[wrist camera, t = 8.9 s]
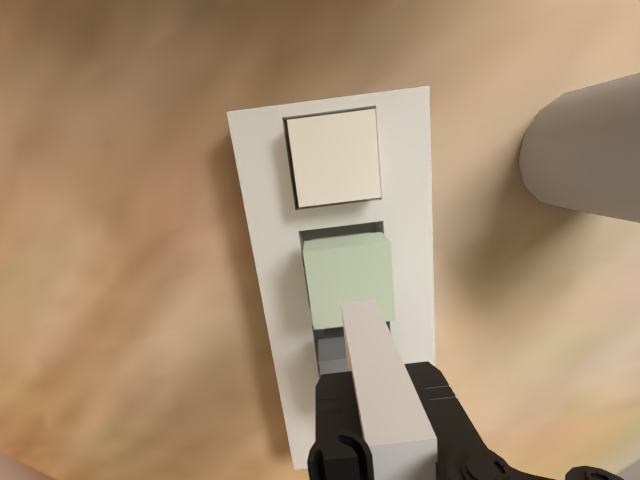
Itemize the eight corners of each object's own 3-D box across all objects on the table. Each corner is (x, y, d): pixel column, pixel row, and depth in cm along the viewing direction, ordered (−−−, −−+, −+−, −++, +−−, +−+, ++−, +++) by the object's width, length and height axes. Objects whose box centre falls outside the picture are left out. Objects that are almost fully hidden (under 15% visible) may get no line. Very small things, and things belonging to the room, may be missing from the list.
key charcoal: (317, 325, 22) (318, 361, 18) (382, 317, 22) (397, 352, 18) (325, 379, 23) (327, 424, 19) (386, 372, 23) (401, 416, 19)
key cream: (292, 128, 20) (286, 119, 16) (363, 119, 20) (375, 108, 16) (302, 198, 21) (299, 207, 17) (368, 190, 21) (381, 197, 17)
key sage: (305, 234, 20) (302, 252, 16) (375, 225, 20) (390, 241, 16) (314, 298, 21) (313, 329, 17) (380, 290, 21) (395, 320, 17)
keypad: (240, 119, 21) (226, 111, 17) (410, 98, 21) (429, 85, 17) (296, 432, 28) (293, 469, 25) (422, 418, 28) (437, 454, 24)
